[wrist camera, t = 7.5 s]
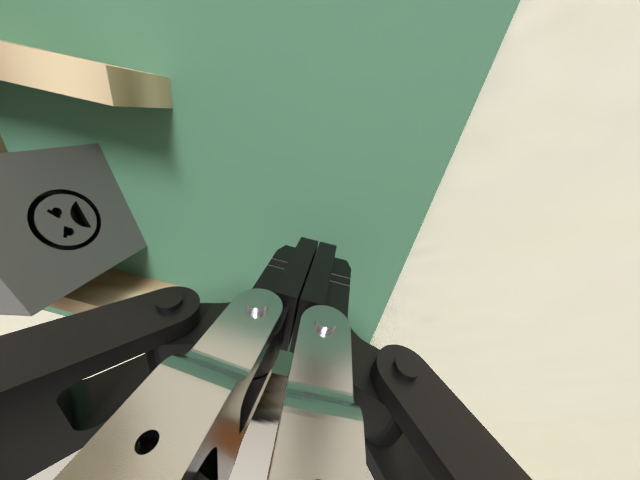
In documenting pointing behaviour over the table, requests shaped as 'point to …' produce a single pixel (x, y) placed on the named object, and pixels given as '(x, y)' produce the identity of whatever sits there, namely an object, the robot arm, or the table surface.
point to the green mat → (266, 127)
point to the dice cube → (59, 224)
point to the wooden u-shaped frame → (99, 87)
